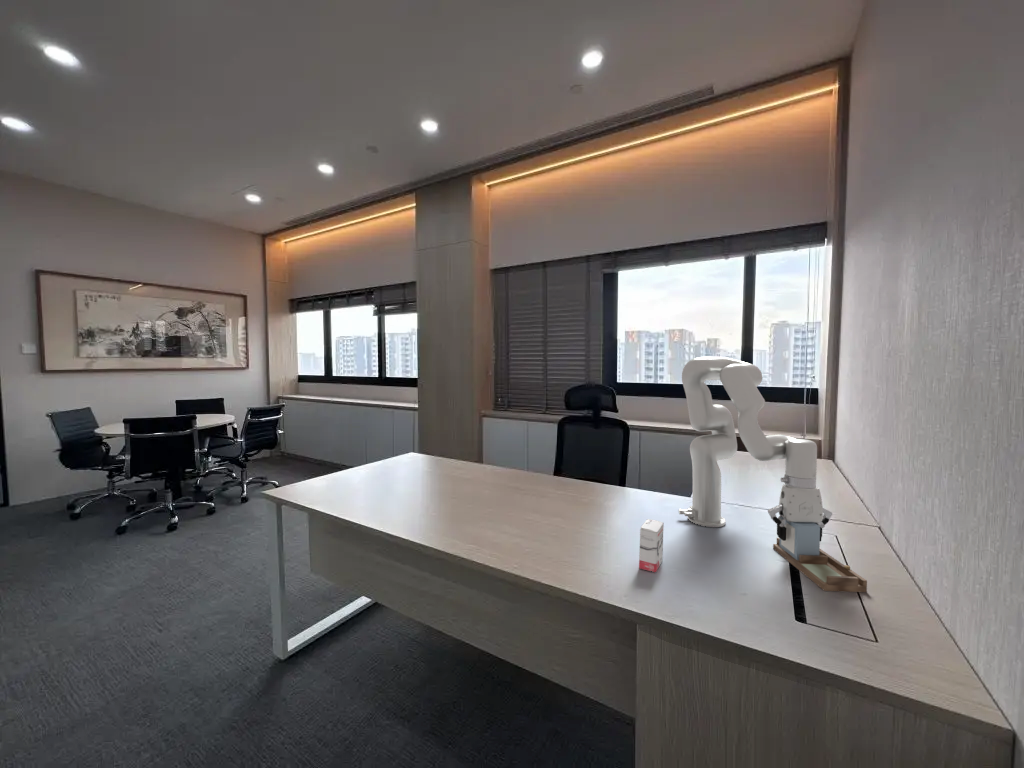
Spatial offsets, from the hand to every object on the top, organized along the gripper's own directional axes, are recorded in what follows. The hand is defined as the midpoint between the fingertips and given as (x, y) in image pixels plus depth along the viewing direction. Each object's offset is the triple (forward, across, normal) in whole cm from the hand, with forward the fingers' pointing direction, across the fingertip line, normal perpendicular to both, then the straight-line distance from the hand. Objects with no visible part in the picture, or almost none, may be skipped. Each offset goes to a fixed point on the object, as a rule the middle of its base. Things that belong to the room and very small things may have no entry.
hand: (799, 539), depth 122 cm
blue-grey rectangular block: (+4, 0, 0) cm, 4 cm away
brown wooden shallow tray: (+6, +1, -6) cm, 8 cm away
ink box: (+6, -44, -7) cm, 45 cm away
